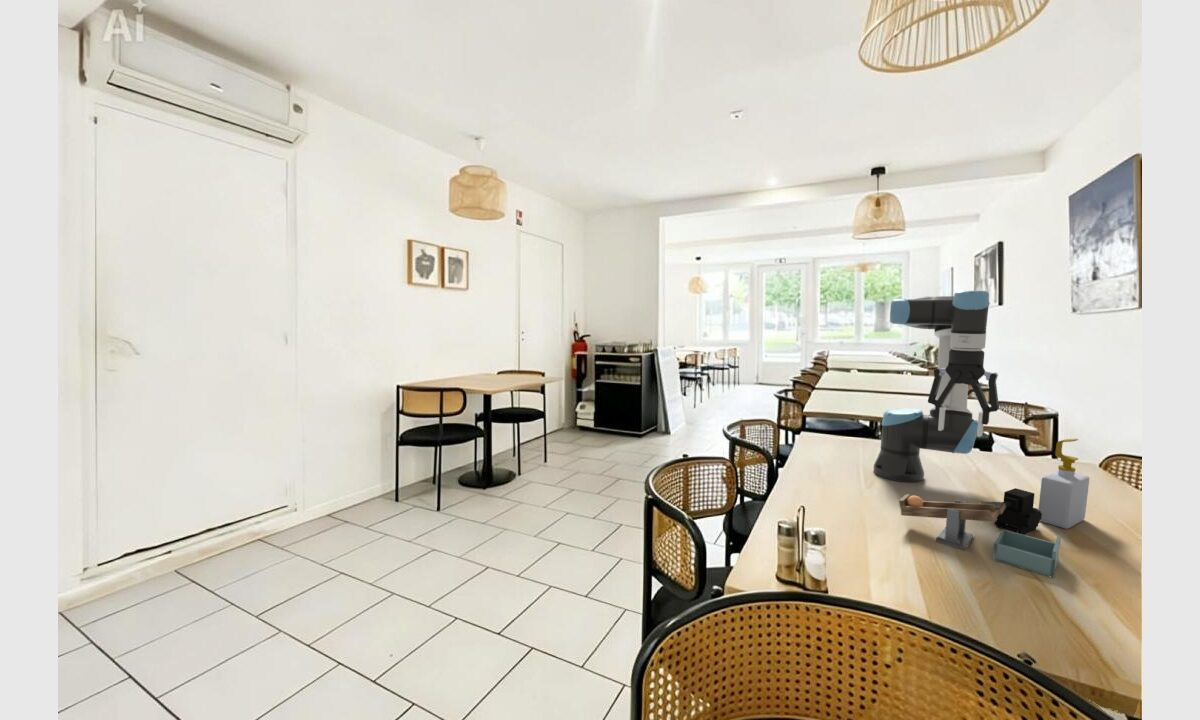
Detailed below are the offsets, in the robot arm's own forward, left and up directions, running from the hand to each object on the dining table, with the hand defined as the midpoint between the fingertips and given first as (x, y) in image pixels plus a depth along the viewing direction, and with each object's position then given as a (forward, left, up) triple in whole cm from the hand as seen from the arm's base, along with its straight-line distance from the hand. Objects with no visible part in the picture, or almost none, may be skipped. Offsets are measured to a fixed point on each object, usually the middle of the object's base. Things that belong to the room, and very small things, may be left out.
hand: (959, 432), depth 133 cm
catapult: (+1, -9, -19) cm, 21 cm away
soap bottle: (+20, +22, -25) cm, 40 cm away
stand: (+3, -12, -25) cm, 28 cm away
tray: (+17, -12, -25) cm, 33 cm away
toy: (+12, +5, -26) cm, 29 cm away
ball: (-6, -12, -18) cm, 23 cm away
